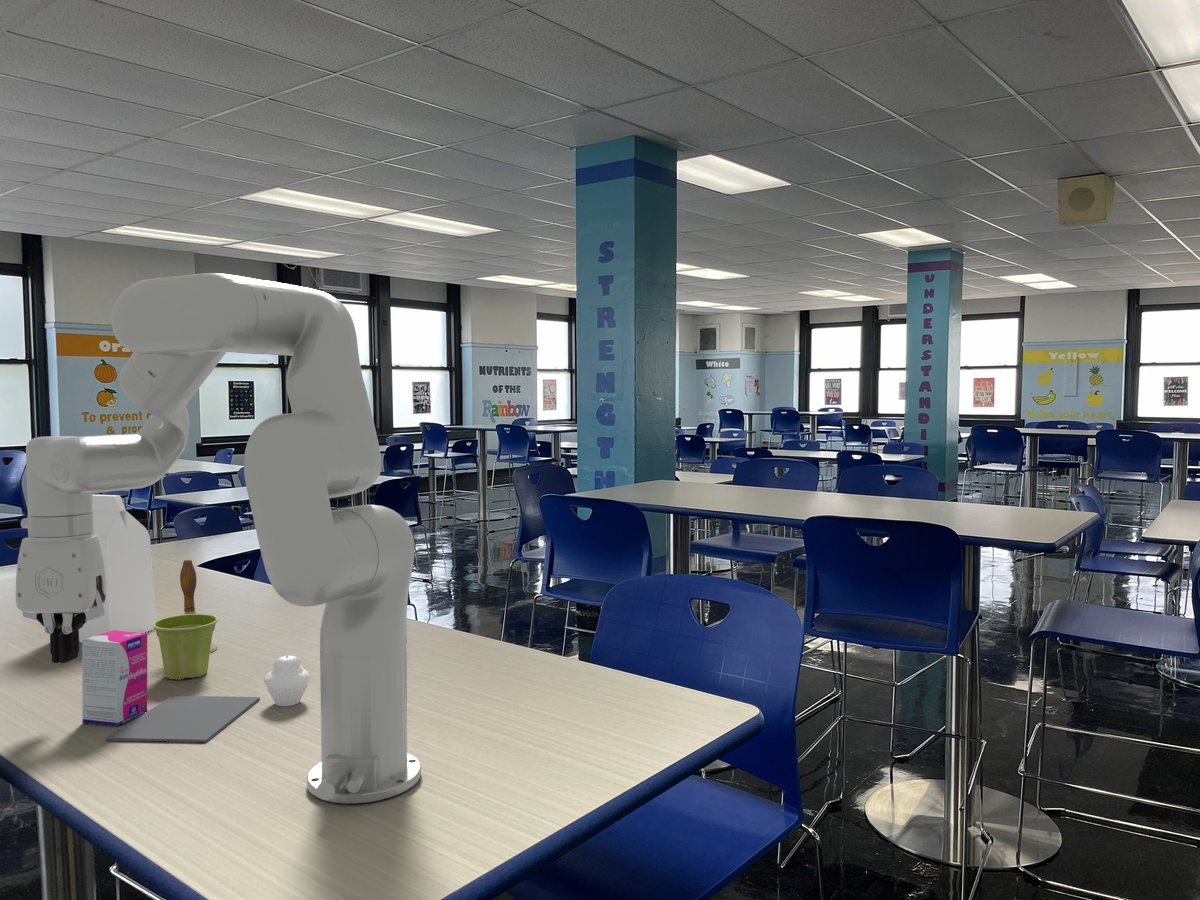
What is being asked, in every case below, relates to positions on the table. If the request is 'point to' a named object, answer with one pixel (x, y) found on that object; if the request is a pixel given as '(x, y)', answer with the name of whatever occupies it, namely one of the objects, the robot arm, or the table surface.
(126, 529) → the milk
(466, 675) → the table surface
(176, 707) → the mat
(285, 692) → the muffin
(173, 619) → the plant pot
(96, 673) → the supplement box
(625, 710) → the table surface
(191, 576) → the hand bell
